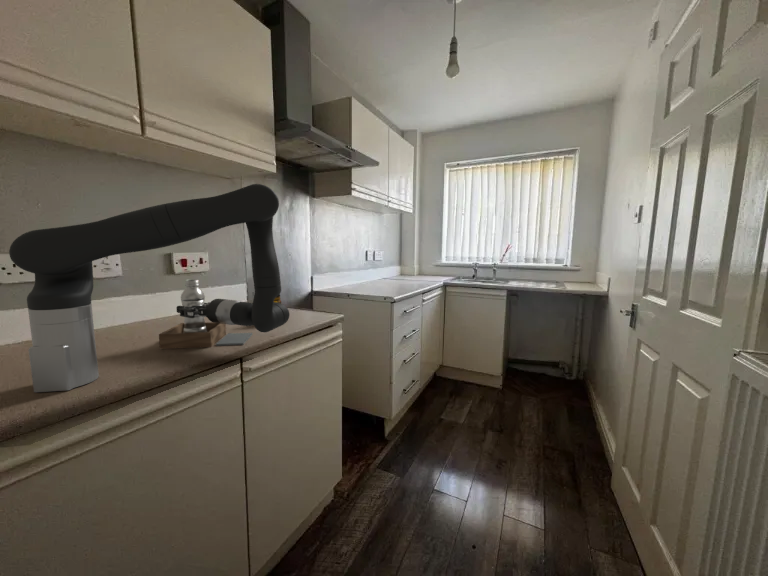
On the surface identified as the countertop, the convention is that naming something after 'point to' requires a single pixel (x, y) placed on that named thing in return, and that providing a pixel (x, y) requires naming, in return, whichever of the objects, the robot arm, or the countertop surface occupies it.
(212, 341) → the walnut frame
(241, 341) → the grey mat
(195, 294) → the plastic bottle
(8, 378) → the countertop surface
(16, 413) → the countertop surface
